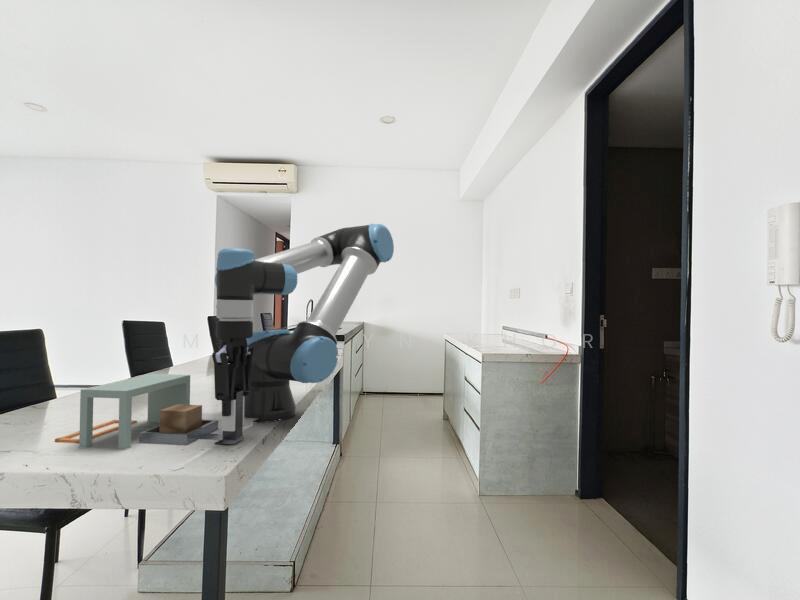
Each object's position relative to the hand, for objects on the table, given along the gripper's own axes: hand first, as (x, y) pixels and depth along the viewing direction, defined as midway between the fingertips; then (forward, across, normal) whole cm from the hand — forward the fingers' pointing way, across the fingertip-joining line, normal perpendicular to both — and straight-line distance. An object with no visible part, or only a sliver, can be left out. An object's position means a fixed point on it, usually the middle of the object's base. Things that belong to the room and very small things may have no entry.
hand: (232, 427), depth 93 cm
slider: (+3, 0, -8) cm, 8 cm away
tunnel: (+3, 0, -22) cm, 22 cm away
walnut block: (+2, 0, -12) cm, 12 cm away
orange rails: (+3, +1, -32) cm, 32 cm away
